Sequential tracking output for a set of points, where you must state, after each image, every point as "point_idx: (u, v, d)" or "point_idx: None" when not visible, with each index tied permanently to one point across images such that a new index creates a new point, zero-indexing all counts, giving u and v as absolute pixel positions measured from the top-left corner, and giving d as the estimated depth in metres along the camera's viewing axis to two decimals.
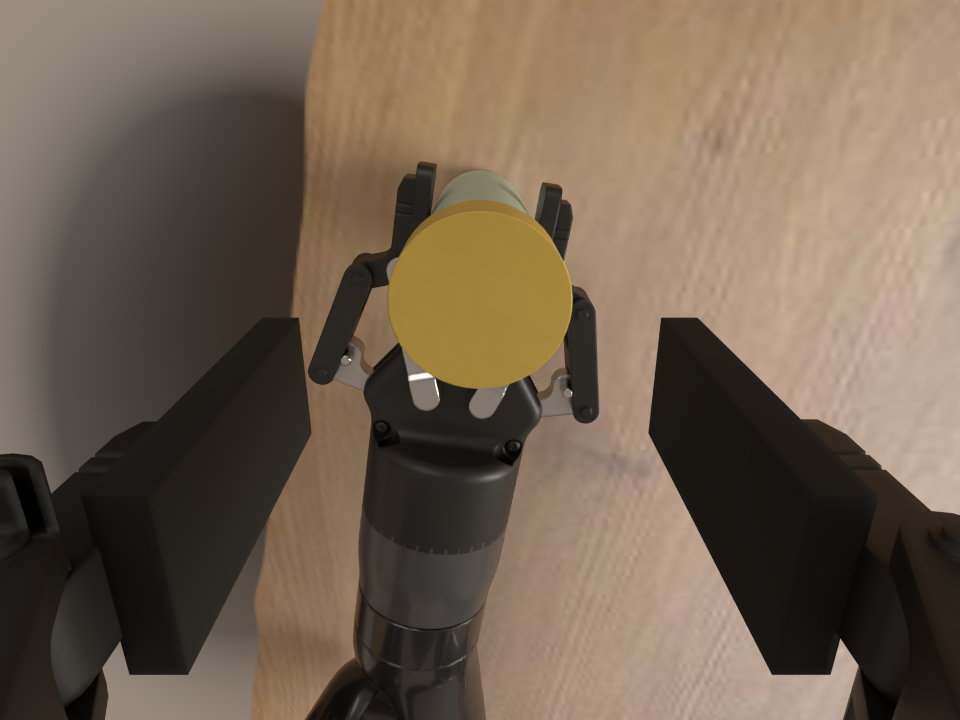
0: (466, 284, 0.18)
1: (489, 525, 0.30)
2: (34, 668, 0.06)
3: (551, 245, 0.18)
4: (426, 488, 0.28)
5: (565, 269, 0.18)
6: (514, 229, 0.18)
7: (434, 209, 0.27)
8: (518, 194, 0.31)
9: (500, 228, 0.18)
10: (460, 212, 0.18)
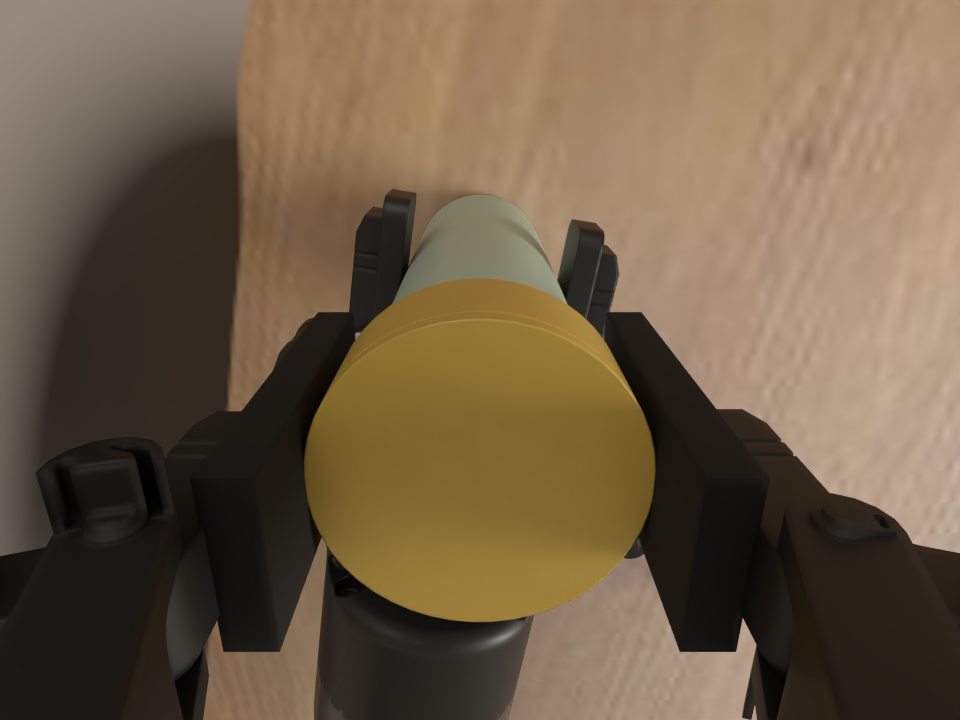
0: (453, 451, 0.10)
1: (493, 701, 0.21)
2: (153, 646, 0.06)
3: (620, 382, 0.09)
4: (401, 664, 0.19)
5: (645, 425, 0.09)
6: (547, 353, 0.09)
7: (412, 260, 0.18)
8: (533, 230, 0.22)
9: (520, 351, 0.09)
10: (440, 320, 0.09)
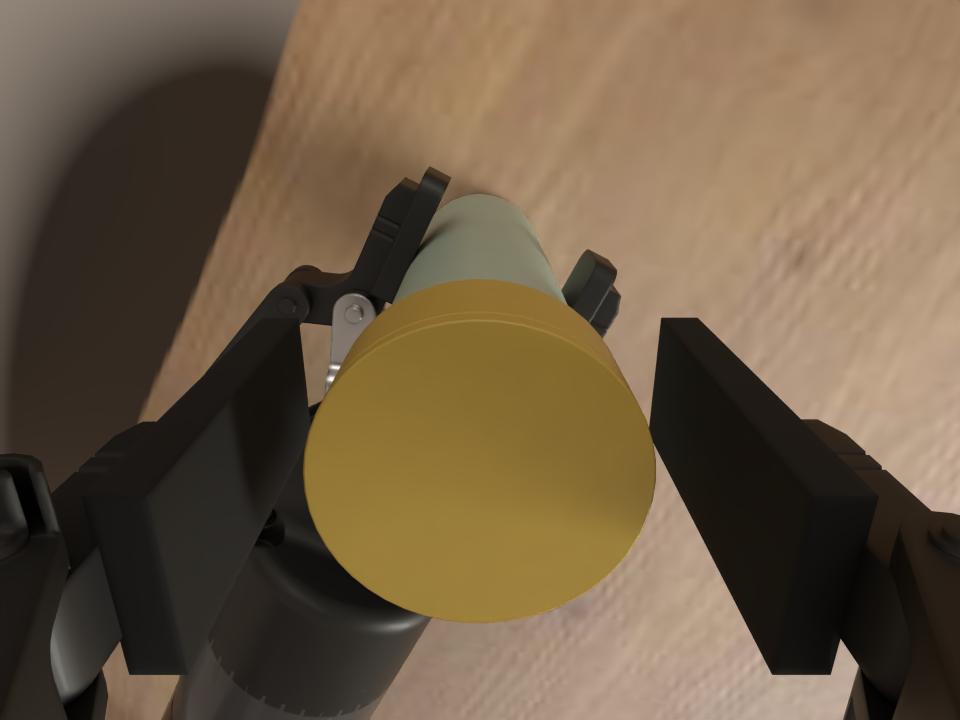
0: (432, 492, 0.10)
1: (374, 684, 0.21)
2: (34, 668, 0.06)
3: (427, 328, 0.09)
4: (300, 627, 0.19)
5: (485, 322, 0.09)
6: (369, 379, 0.09)
7: (429, 241, 0.18)
8: None
9: (357, 401, 0.09)
10: (306, 448, 0.10)
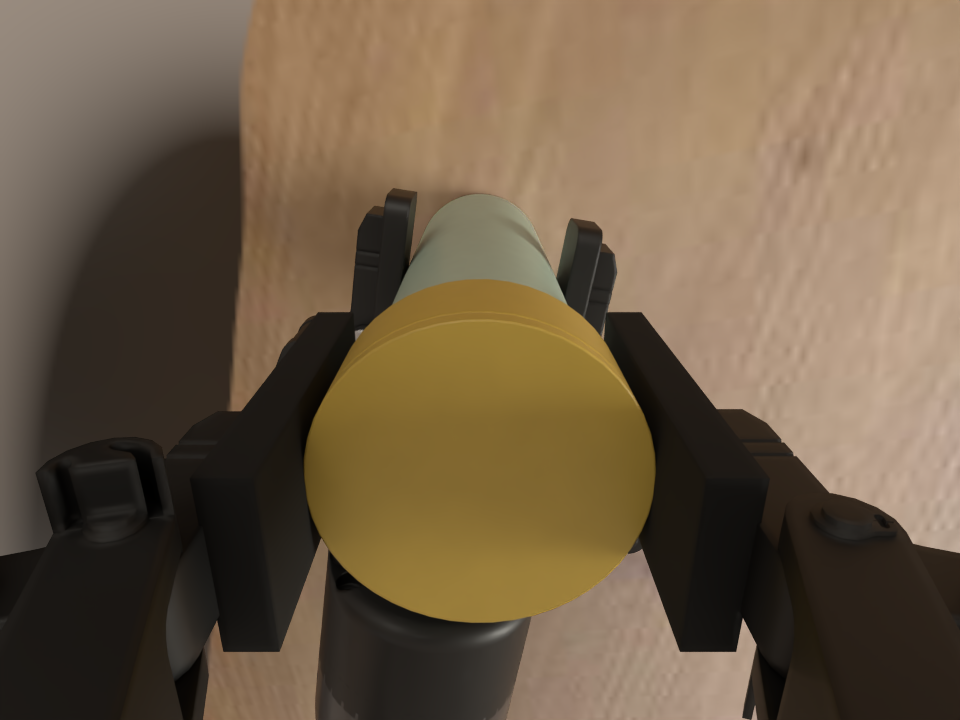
0: (437, 504, 0.10)
1: (492, 694, 0.22)
2: (153, 646, 0.06)
3: (375, 351, 0.09)
4: (402, 657, 0.20)
5: (427, 328, 0.09)
6: (339, 414, 0.09)
7: (413, 258, 0.19)
8: (533, 229, 0.23)
9: (336, 437, 0.10)
10: (307, 494, 0.10)
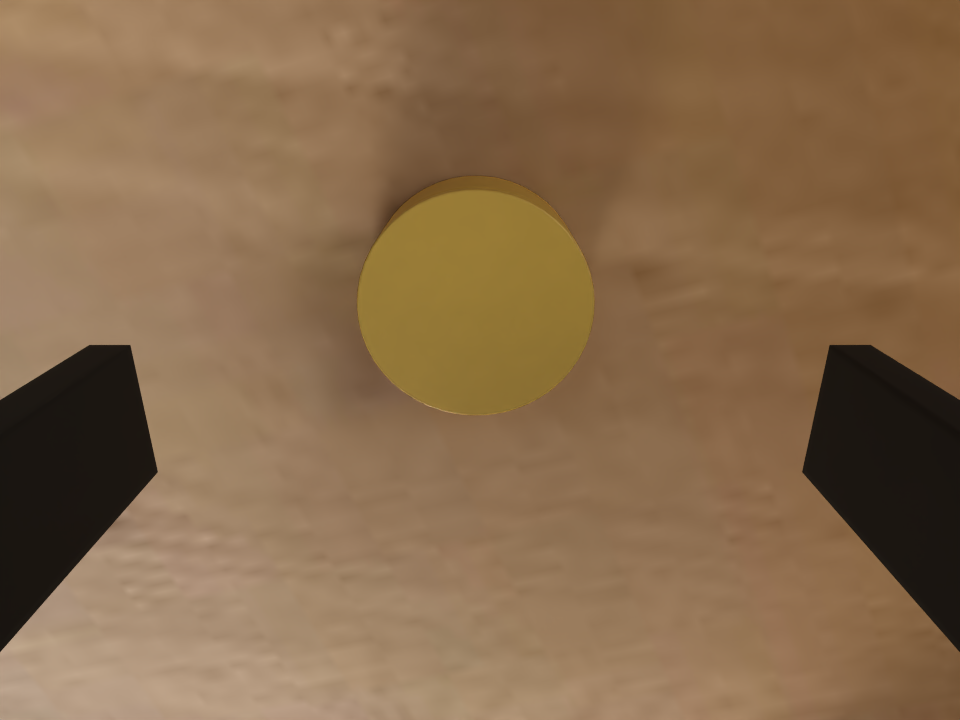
0: (447, 324, 0.15)
1: None
2: None
3: (406, 212, 0.14)
4: None
5: (440, 196, 0.14)
6: (382, 258, 0.14)
7: None
8: None
9: (379, 275, 0.14)
10: (358, 318, 0.15)
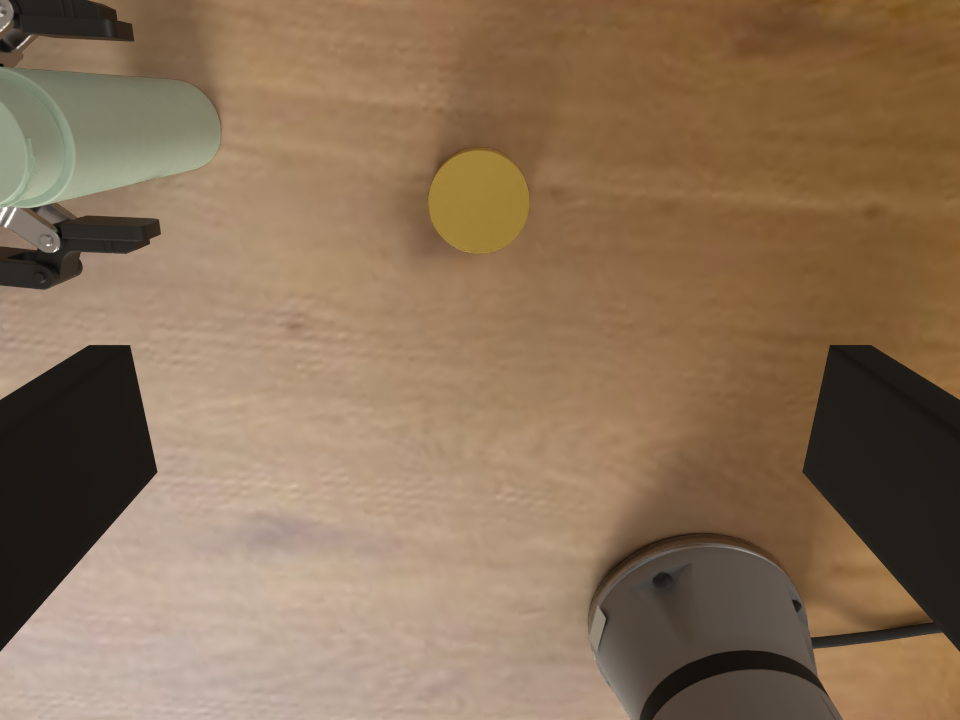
0: (466, 209, 0.34)
1: None
2: None
3: (450, 159, 0.33)
4: None
5: (464, 152, 0.33)
6: (439, 179, 0.34)
7: (129, 80, 0.28)
8: (196, 162, 0.33)
9: (438, 186, 0.34)
10: (428, 206, 0.34)
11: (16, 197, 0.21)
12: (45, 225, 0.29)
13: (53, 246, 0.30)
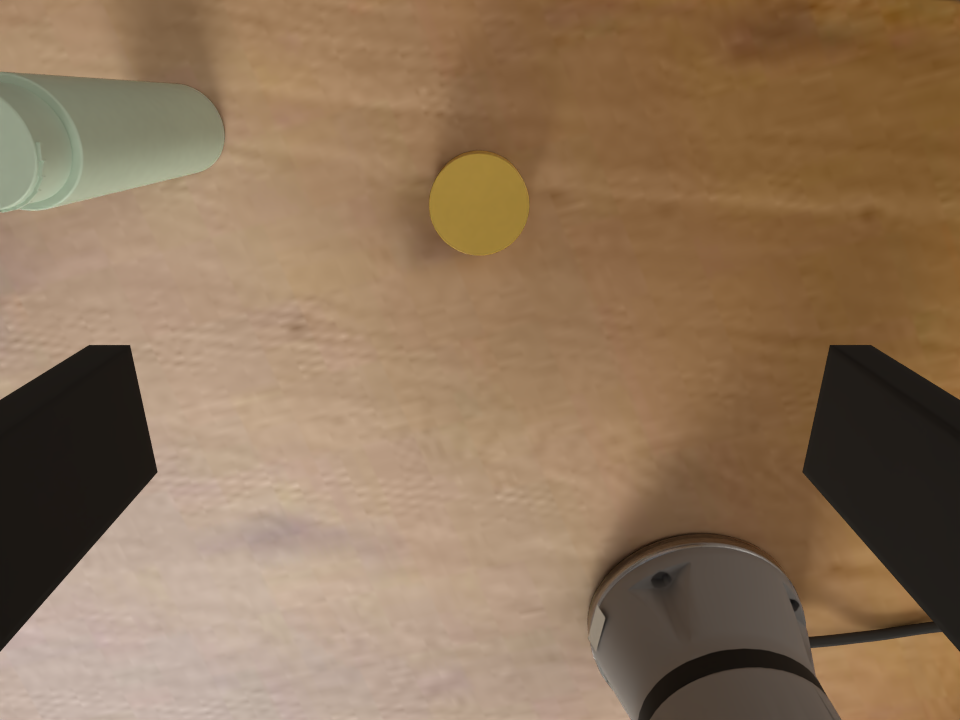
0: (467, 211, 0.35)
1: None
2: None
3: (451, 163, 0.34)
4: None
5: (465, 156, 0.34)
6: (440, 182, 0.34)
7: (134, 85, 0.28)
8: (200, 165, 0.34)
9: (439, 189, 0.34)
10: (429, 209, 0.35)
11: (25, 201, 0.22)
12: None
13: None
